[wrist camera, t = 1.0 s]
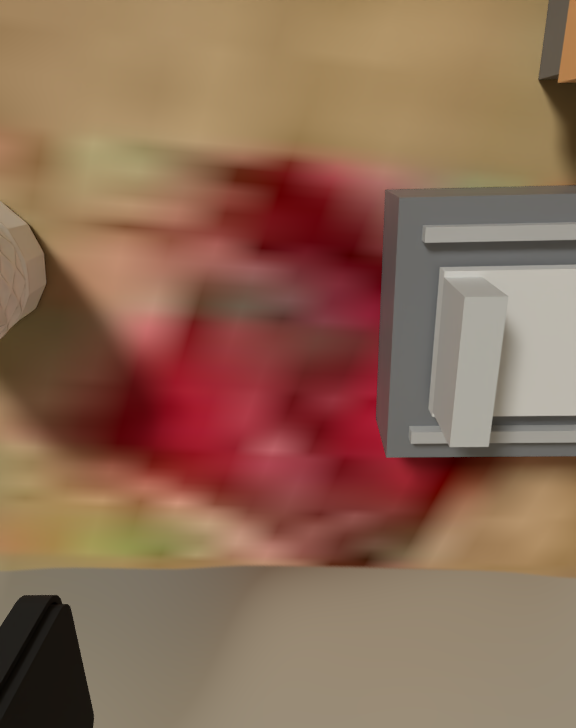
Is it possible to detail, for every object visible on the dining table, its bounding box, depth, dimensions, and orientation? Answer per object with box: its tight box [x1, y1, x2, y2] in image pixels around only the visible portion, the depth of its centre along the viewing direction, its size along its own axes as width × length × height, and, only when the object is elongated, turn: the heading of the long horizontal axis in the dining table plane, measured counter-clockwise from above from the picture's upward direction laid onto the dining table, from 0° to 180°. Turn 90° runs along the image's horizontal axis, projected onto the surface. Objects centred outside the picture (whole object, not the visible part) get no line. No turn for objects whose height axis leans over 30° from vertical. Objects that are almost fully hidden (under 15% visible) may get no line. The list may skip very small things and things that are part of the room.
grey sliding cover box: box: [376, 185, 576, 457], centre depth 25 cm, size 12×16×5 cm
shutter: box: [428, 265, 576, 447], centre depth 22 cm, size 6×6×4 cm
